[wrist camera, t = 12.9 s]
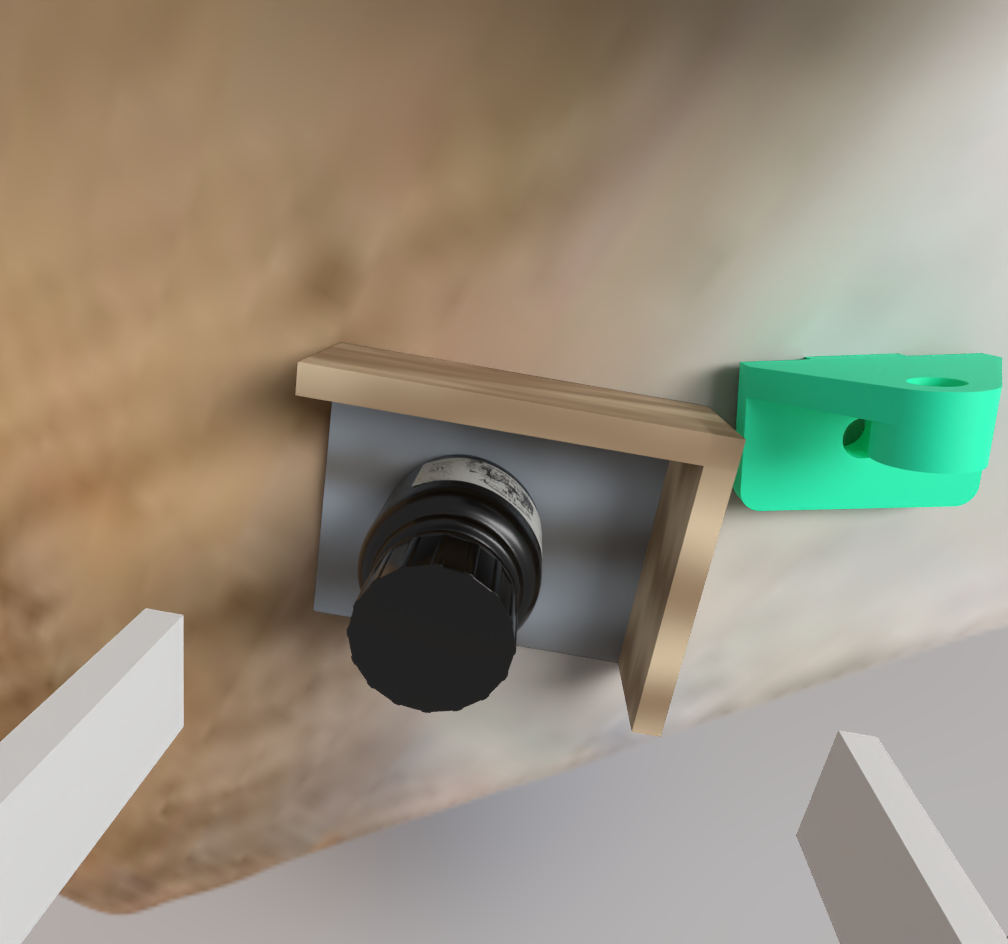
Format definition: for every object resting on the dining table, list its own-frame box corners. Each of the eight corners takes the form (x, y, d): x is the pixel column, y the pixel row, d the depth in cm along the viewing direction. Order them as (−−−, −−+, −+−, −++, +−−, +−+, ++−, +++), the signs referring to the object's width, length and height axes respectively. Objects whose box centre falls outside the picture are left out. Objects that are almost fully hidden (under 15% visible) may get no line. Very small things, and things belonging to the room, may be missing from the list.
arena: (341, 342, 36) (297, 361, 30) (707, 406, 37) (745, 439, 30) (317, 604, 41) (275, 671, 35) (640, 659, 42) (660, 736, 35)
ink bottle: (578, 533, 38) (596, 652, 27) (470, 629, 40) (444, 776, 29) (453, 413, 37) (416, 485, 25) (347, 520, 39) (268, 631, 27)
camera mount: (726, 494, 38) (791, 576, 29) (734, 358, 36) (807, 397, 26) (946, 489, 38) (1090, 571, 28) (969, 350, 35) (1134, 386, 26)
